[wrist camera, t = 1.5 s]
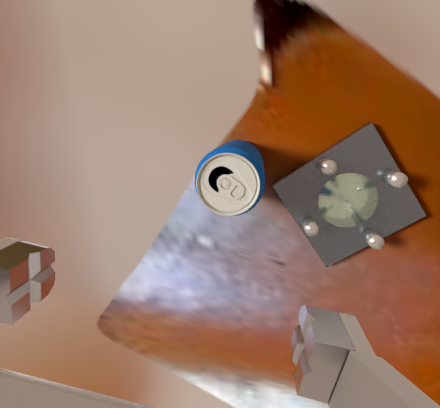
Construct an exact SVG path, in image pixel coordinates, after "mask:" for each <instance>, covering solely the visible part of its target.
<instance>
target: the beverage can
mask: <svg viewBox="0 0 440 408" xmlns="http://www.w3.org/2000/svg"><path fill="white" fill-rule="evenodd" d="M195 188H196V191H197V194H198V196H199V198H200V200H201V201H202V203H203V204H204V205H205V206H206V207H207V208H208V209H210V210H211V211H213V212H215V213H217V214H220V215H224V216H236V215H240V214H243V213H246V212H248V211H249V210H251V209H252V208H253V207H254V206H255V205H256V204H257V203H258V202H259V200H260V199H261V197H262V195H263V192H264V188H265V173H264V162H263V158H262V155H261V153H260V152H259V150H258V149H257V148H256V147H255V146H254V145H252V144H251V143H249V142H246V141H243V140H233V141H229V142H227V143H225V144H223V145H221V146H220V147H218V148H216V149H214V150H213V151H211V152H210V153H208V154H207V155H206V156H205V157H204V158H203V159H202V160H201V162H200V163H199V165H198V167H197V170H196V173H195Z"/></svg>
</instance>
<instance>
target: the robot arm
mask: <svg viewBox="0 0 440 408" xmlns="http://www.w3.org/2000/svg"><path fill="white" fill-rule="evenodd" d="M54 261H55V253H54V251H53V250H52V248H50V247H45V246H41V245H37V244H33V243H29V242H25V241H21V240H17V239H12V238H2V239H0V322H2V323H7V324H14V323H15V322H16V321H17V320H19V319H20V318H21V317H22V316H23V315H25V314H26V313H27V312H28V311H29V310H30V307H31V304H33V303H36V302H39V301H41V300H42V299H44V298H45V297H46V296H47V295H48V294H49V292H50V290H51V289H52V287H53V284H54V280H55V272H54V270H53V269H52V267H51V266H50V265H51V264H52V263H53V262H54ZM298 317H299V322H300V324H299V325H298V326H297V327H295V328H294V332H293V335H292V341H291V358H292V361H293V363H294V364H295V365H296V369H295V372H294V378H295V384H296V390H297V395H299V396H303V397H306V398H310V399H314V400H317V401H321V402H324V403H328V404H329V405H328V406H329V407H330V408H440V406H439V405H438V404H437V403H435V402H434V401H433V400H432V399H431V398H429V397H428V396H427V395H426V394H425V393H423V392H422V391H421V390H420V389H419V388H417V387H416V386H415V385H414V384H413V383H411V382H410V381H409V380H408V379H407V378H405V377H404V376H403V375H402V374H401V373H399V372H398V371H397V370H396V369H395V368H393V367H392V366H391V365H390V364H389V363H387V362H386V361H385V360H384V359H383V358H381V357H377V356H376V355H375V353H374V351H373V349H372V348H371V346H370V344H369V342H368V340H367V338H366V336H365V334H364V332H363V330H362V328H361V326H360V324H359V322H358V321H357V319H356V317H355V316H354V315H352V314H346V313H341V312H335V311H330V310H325V309H320V308H315V307H310V306H305V305H303V306H302V307H301V309H300V312H299V315H298ZM0 408H153V407H150V406H146V405H142V404H138V403H135V402H131V401H127V400H123V399H119V398H115V397H111V396H107V395H104V394H99V393H96V392H91V391H88V390H84V389H80V388H76V387H72V386H68V385H64V384H60V383H57V382H53V381H49V380H45V379H41V378H37V377H34V376H30V375H26V374H22V373H18V372H14V371H10V370H6V369H2V368H0Z"/></svg>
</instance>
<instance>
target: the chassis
mask: <svg viewBox="0 0 440 408" xmlns="http://www.w3.org/2000/svg"><path fill="white" fill-rule="evenodd" d="M407 181H408V177H407V176H406V175H405V174H404V173H401V171H400V170H399V168H398V166H397V164H396V163H395V161H394V159H393V158H392V156H391V154H390V153H389V151H388V149H387V147H386V146H385V144H384V142H383V141H382V139H381V137H380V135H379V134H378V132H377V130H376V129H375V127H374V125H373V123H367V124H365V125H363V126H362V127H360V128H359V129H357V130H356V131H354V132H353V133H351V134H349V135H348V136H346V137H345V138H343V139H342V140H340V141H338V142H337V143H335V144H334V145H332V146H331V147H329V148H328V149H326V150H324V151H323V152H321V153H320V154H318V155H317V156H315V157H313V158H312V159H310V160H309V161H307V162H306V163H304V164H302V165H301V166H299V167H298V168H296V169H295V170H293V171H292V172H290V173H288V174H287V175H285V176H284V177H282V178H281V179H279V180H277V181H276V182H274V183H273V184H272V187H273V188H274V190H275V191H276V193H277V194H278V196H279V197H280V199H281V200H282V202H283V203H284V205H285V206H286V208H287V209H288V211H289V212H290V214H291V215H292V217H293V218H294V220H295V221H296V222H297V224H298V225H299V227H300V228H301V230H302V231H303V233H304V234H305V236H306V237H307V239H308V240H309V242H310V243H311V245H312V246H313V248H314V249H315V251H316V252H317V254H318V255H319V257H320V258H321V260H322V261H323V263H324V264H325V266H326V267H328V266H330V265H332V264H334V263H336V262H338V261H340V260H342V259H344V258H346V257H347V256H349V255H351V254H353V253H355V252H357V251H359V250H361V249H363V248H365V247H367V246H370V247H371V248H373V249H380V248H382V247H383V246H384V239H383V238H384V237H386V236H388V235H390V234H392V233H394V232H396V231H398V230H400V229H402V228H404V227H406V226H408V225H410V224H412V223H413V222H415V221H417V220H419V219H421V218H423V217H425V216H426V214H425V212H424V211H423V209H422V207H421V206H420V204H419V202H418V200H417V199H416V197H415V195H414V194H413V192H412V190H411V188H410V187H409V185H408V183H407Z"/></svg>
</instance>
